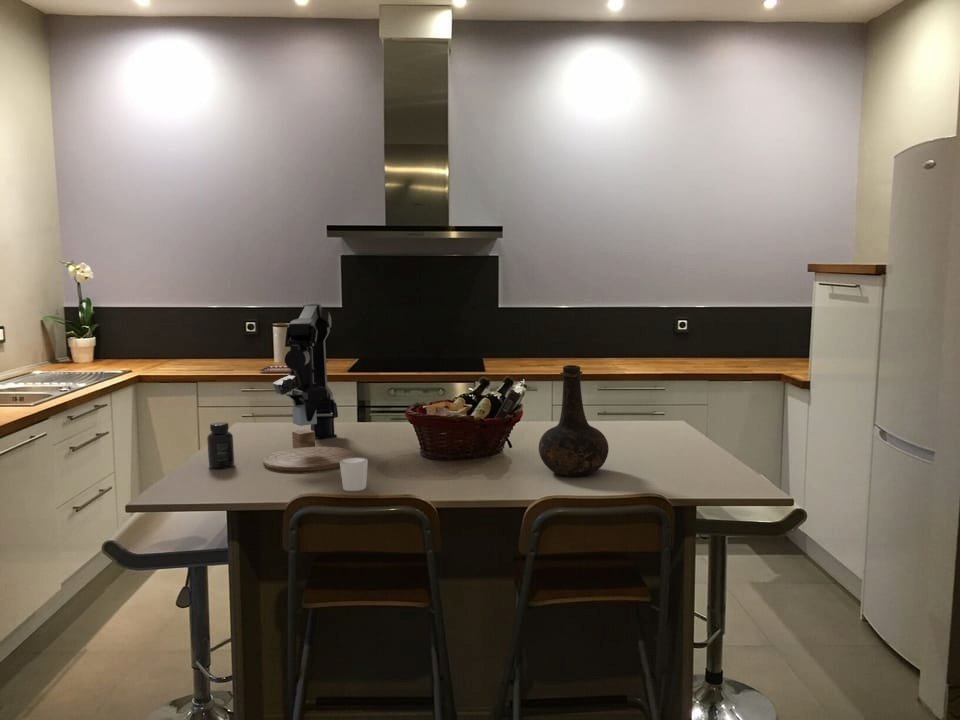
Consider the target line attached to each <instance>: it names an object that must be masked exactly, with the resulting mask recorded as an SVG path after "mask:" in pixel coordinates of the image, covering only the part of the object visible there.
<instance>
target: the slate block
mask: <svg viewBox="0 0 960 720" xmlns="http://www.w3.org/2000/svg"><path fill="white" fill-rule="evenodd" d="M291 409H292V424H294V425H296V426H300V427H305V426H311V424H317V413H316V411H315V414H314V416H313V418H312V420H311V421H309V422H308V421H307V417H306V412H305V405H298V406H295V405H292V406H291Z"/></svg>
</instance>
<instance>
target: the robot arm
mask: <svg viewBox="0 0 960 720" xmlns="http://www.w3.org/2000/svg"><path fill="white" fill-rule="evenodd" d="M330 328H332V316H331V314H330V311H329V310H327V309H325V308H323V307H322V304H320V303H318V302H317V303H306V304H303V306H302V312H301V313H300V315H299V317H298V318H296V319H292V320H291V321H290V322H289V324H288V325H287V326H286V335H285V342H284V347H286V348H290V350H289V351H287V353H286V354H285V357H284V363H285V365H286V367H287V368H288V369H289V370H288V373H289V375H287V376H284V377H281V378H280V379H277V380H275V381H274V382H272V385H273V388H274V390H275V392H276V394H277V395H278V394H279V395H282V396H283V395H285V396H286V397H288V398H289V399H290V400H292V402H293V406H298V405H305V412H306V417H307V421H308V422H309V421H311V420H312V418H313V416H314V414H315V411H316V413H317V424H311V425H310V430H311V431H314V432H315V439H319V440H321V439H327V438H333V436H334V437H337V436H338V435H337V434H336V433H335V419H336V418H339V410H338V404H337V403H336V399H334V395H333V392H332V390H331V388H330V387H329V386H328V375H327V373H328V371H327V357H326V356H327V353H326V352H327V351H326V348H327V347H326V339H327V338H328V337H329V334H330V332H331V329H330Z"/></svg>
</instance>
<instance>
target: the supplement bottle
mask: <svg viewBox="0 0 960 720" xmlns="http://www.w3.org/2000/svg"><path fill="white" fill-rule="evenodd" d="M209 426H210V427H209V431H210V433H209V434H208V435H207V437H206V441H207V442H206V443H207V454H208V455H207V457H208V458H207V459H208V467H209V468H210V469H212V468H213V470H223V469H228V468H232V467H234V466H235V450H234V449H235V448H234V436H233V433H232V432H230V431H229V429H230V428H229V422H227V421H222V422H220V421H219V422H213V423H210V424H209Z"/></svg>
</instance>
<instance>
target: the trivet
mask: <svg viewBox="0 0 960 720" xmlns="http://www.w3.org/2000/svg"><path fill="white" fill-rule="evenodd" d="M354 457H355V452H354V451H352V450H350V449H347V448H342V447H336V446H315V447H303V448H287V449H283V450H279V451H275V452H272V453H269V454H267V455H265V456H264V457H263V459H262V460H263V461H262V465H264V466H265V467H264V466H263V467H264V468H265V469H267V468H268V469H267V470H269V469H270V471H272V470H274V472H277V471H278V472H277V473H288V474H289V473H290V474H295V473H296V474H303V472H307V473H318V471H319V472H326V471H333V470H337V469H340V460H342V459H346V458H354Z"/></svg>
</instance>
